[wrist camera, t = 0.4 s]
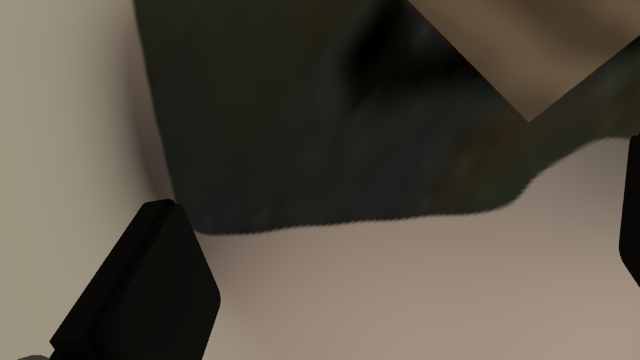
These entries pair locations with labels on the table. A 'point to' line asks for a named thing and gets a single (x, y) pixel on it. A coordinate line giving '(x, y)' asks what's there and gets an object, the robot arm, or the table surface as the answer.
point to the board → (534, 42)
